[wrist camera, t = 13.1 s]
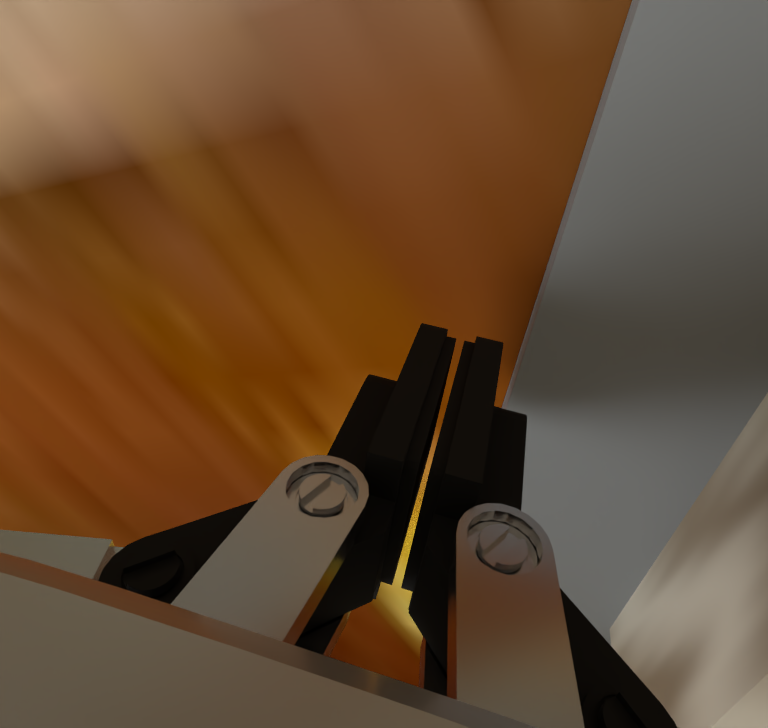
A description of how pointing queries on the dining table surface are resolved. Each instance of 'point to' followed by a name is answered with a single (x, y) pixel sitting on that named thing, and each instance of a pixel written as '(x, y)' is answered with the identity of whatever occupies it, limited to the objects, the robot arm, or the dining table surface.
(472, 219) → the dining table surface
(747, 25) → the floor panel
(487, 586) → the robot arm
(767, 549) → the ash plank
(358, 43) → the dining table surface
